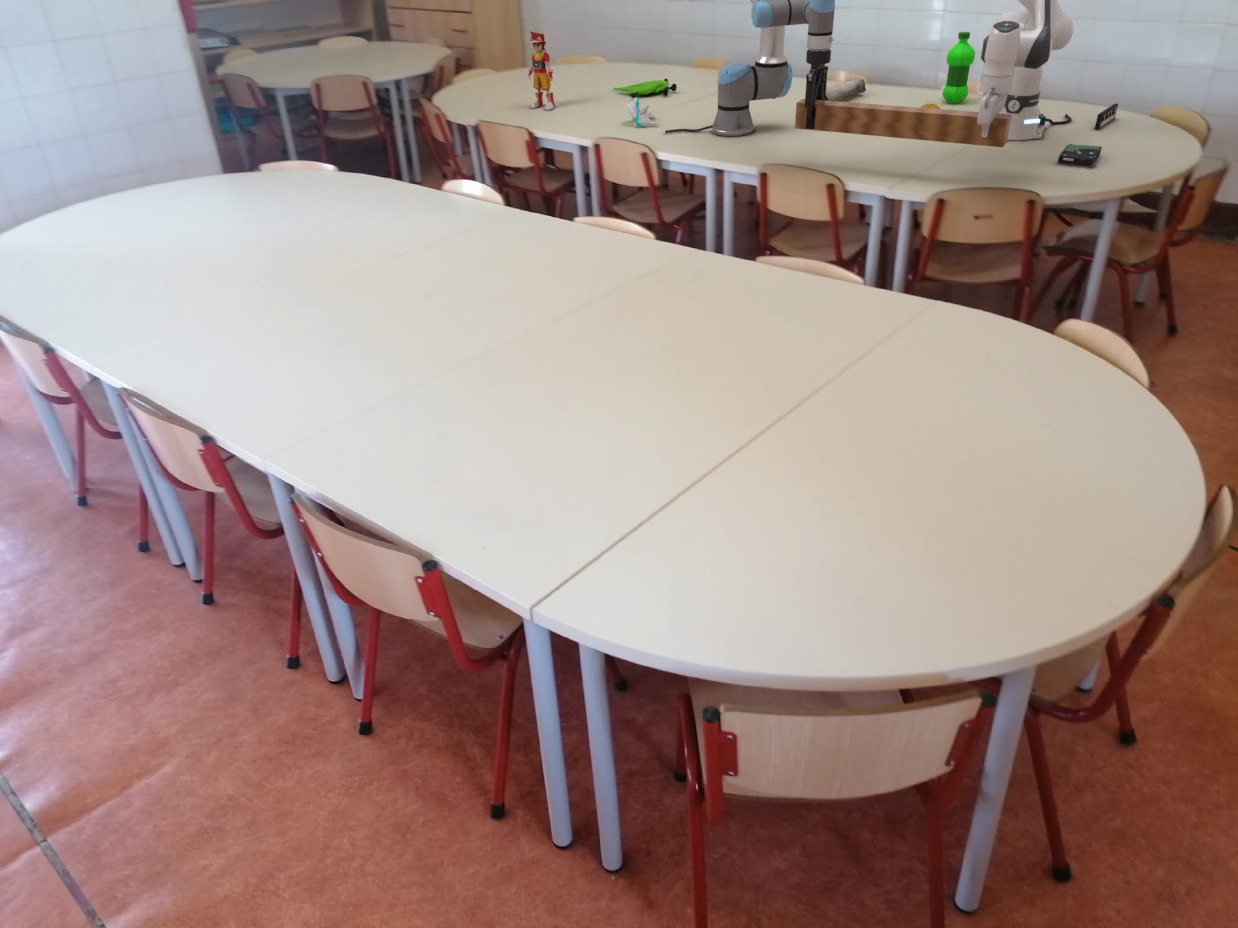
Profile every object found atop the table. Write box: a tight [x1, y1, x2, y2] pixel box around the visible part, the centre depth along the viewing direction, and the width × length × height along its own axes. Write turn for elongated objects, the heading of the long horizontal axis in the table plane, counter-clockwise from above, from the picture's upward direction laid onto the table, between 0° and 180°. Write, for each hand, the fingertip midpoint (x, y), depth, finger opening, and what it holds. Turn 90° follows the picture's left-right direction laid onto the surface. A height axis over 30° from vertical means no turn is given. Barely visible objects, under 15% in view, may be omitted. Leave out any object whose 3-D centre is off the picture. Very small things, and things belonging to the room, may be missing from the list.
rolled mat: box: [825, 78, 867, 102], centre depth 364 cm, size 30×9×10 cm
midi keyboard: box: [1094, 103, 1119, 130], centre depth 318 cm, size 18×1×5 cm, turn 138°
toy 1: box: [527, 31, 556, 111], centre depth 374 cm, size 12×9×30 cm
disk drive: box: [1057, 143, 1102, 167], centre depth 287 cm, size 10×3×15 cm
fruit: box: [919, 103, 941, 109], centre depth 329 cm, size 8×8×8 cm
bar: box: [794, 98, 1012, 148], centre depth 278 cm, size 65×6×8 cm, turn 59°
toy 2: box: [612, 78, 677, 99], centre depth 396 cm, size 28×5×30 cm
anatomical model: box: [625, 97, 657, 128], centre depth 351 cm, size 15×10×10 cm
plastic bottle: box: [942, 31, 976, 104], centre depth 348 cm, size 10×10×25 cm
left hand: (813, 126), depth 292 cm, fingers closed on bar, 6 cm apart
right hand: (987, 133), depth 267 cm, fingers closed on bar, 5 cm apart
